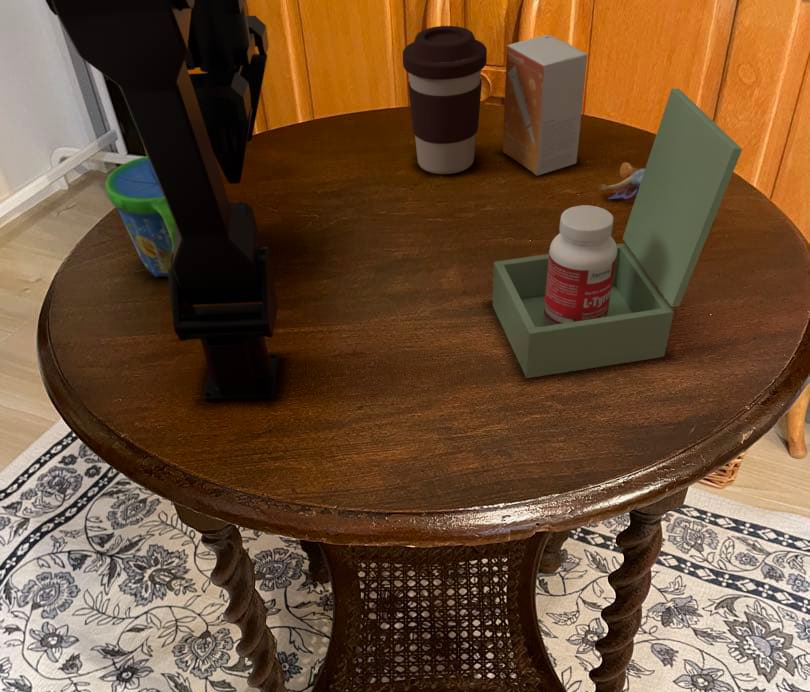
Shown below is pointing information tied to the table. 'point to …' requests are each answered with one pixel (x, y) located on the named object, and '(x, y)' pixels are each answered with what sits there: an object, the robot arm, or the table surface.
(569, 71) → the small box
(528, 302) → the chest
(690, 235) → the chest lid
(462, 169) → the coffee cup
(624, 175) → the fairy figurine
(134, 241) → the snack cup
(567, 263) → the pill bottle
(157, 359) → the table surface
